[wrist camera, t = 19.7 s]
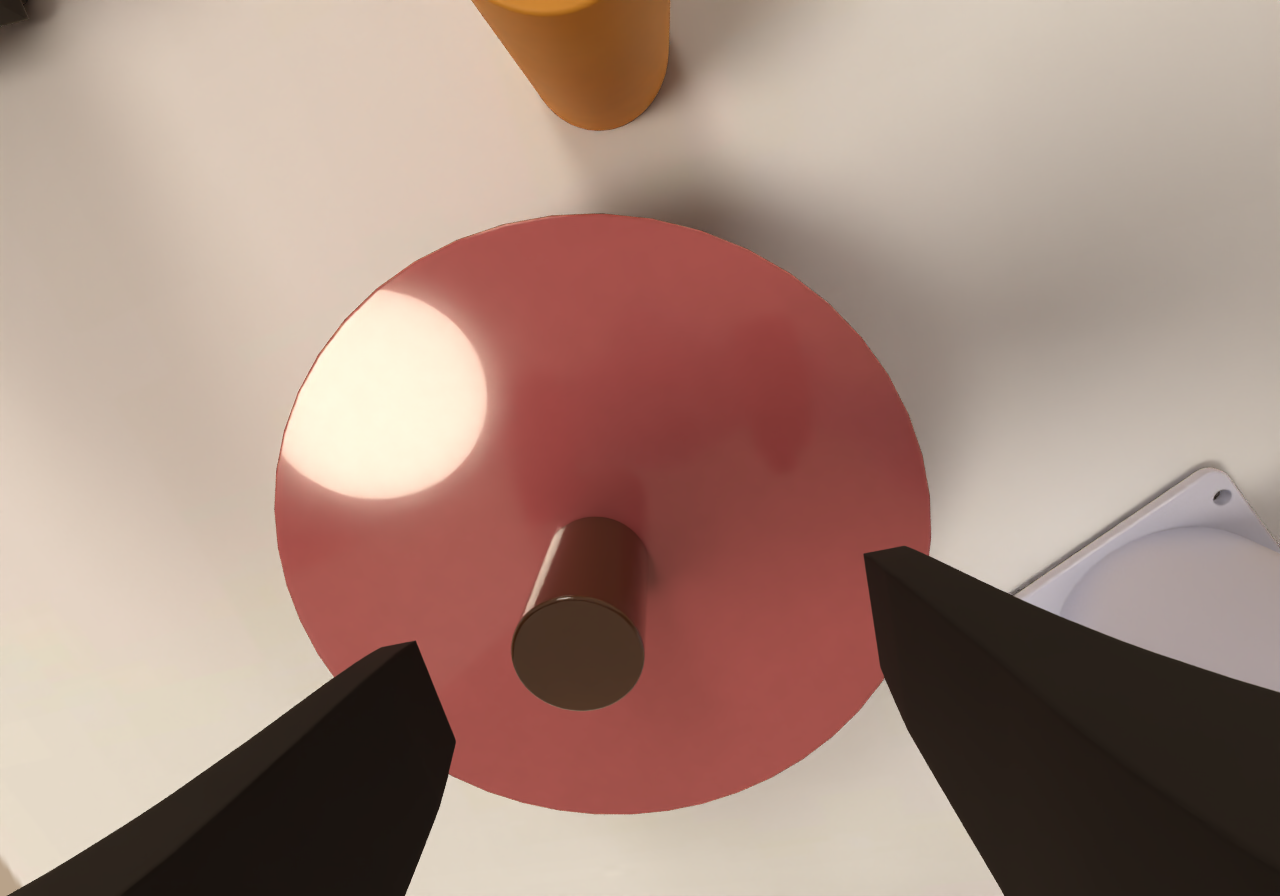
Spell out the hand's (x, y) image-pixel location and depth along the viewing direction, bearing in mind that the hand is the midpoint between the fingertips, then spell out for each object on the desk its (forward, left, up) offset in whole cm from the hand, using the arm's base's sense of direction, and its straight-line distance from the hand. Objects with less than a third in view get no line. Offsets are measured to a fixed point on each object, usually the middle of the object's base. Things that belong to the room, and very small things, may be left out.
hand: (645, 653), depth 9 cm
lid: (0, +1, -5) cm, 5 cm away
